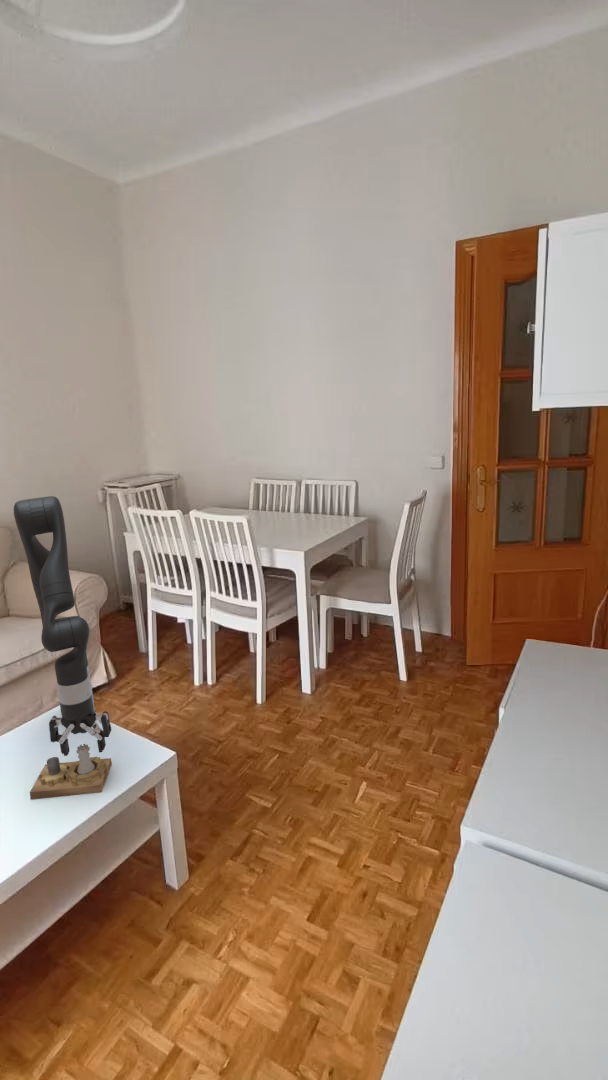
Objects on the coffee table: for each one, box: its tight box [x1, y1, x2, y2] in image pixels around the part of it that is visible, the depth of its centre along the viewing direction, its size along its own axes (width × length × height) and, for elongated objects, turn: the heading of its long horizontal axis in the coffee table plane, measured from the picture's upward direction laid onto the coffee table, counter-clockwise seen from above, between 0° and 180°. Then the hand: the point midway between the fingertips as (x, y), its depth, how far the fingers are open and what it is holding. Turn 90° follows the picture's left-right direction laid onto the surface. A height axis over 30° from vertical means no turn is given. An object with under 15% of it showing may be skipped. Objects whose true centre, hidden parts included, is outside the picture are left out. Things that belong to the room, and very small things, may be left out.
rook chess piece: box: [76, 743, 95, 775], centre depth 141 cm, size 4×4×8 cm
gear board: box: [29, 756, 113, 800], centre depth 141 cm, size 11×17×7 cm, turn 96°
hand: (84, 752), depth 140 cm, fingers open, 8 cm apart
